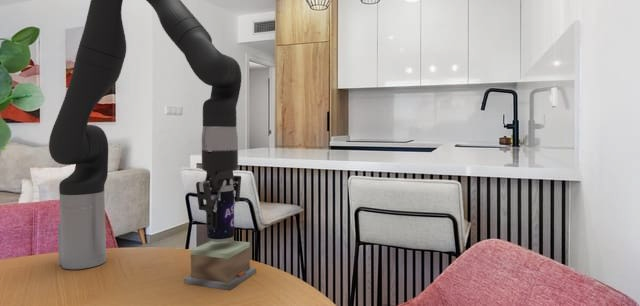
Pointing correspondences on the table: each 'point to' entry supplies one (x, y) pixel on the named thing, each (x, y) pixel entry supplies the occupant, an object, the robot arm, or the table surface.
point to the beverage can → (224, 216)
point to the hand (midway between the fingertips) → (220, 225)
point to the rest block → (220, 264)
